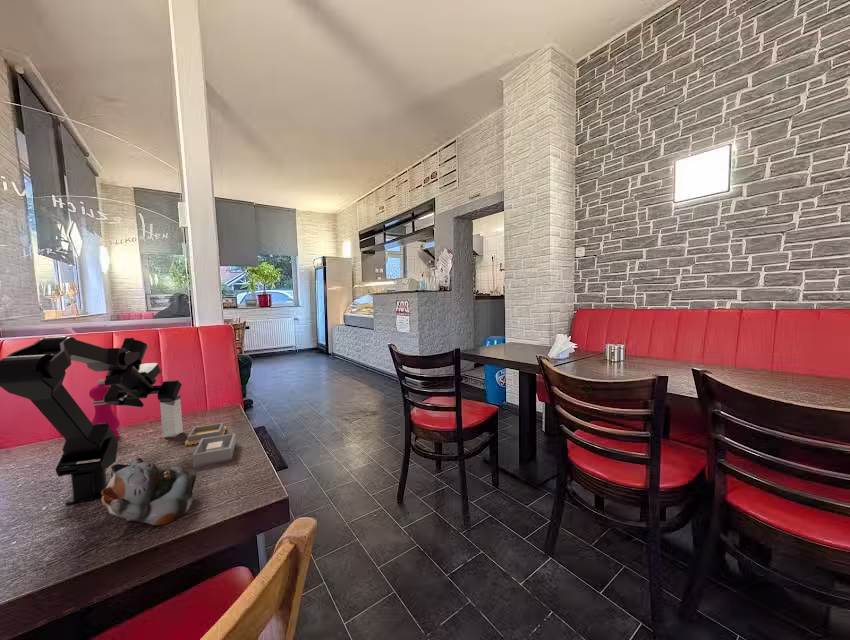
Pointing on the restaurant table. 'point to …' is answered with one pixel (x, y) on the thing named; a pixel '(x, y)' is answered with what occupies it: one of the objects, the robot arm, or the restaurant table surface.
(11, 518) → the restaurant table surface
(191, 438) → the square tray
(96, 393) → the pepper mill
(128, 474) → the lucky cat figurine
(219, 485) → the restaurant table surface
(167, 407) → the grey rectangular block
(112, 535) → the restaurant table surface
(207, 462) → the light gray open tray
